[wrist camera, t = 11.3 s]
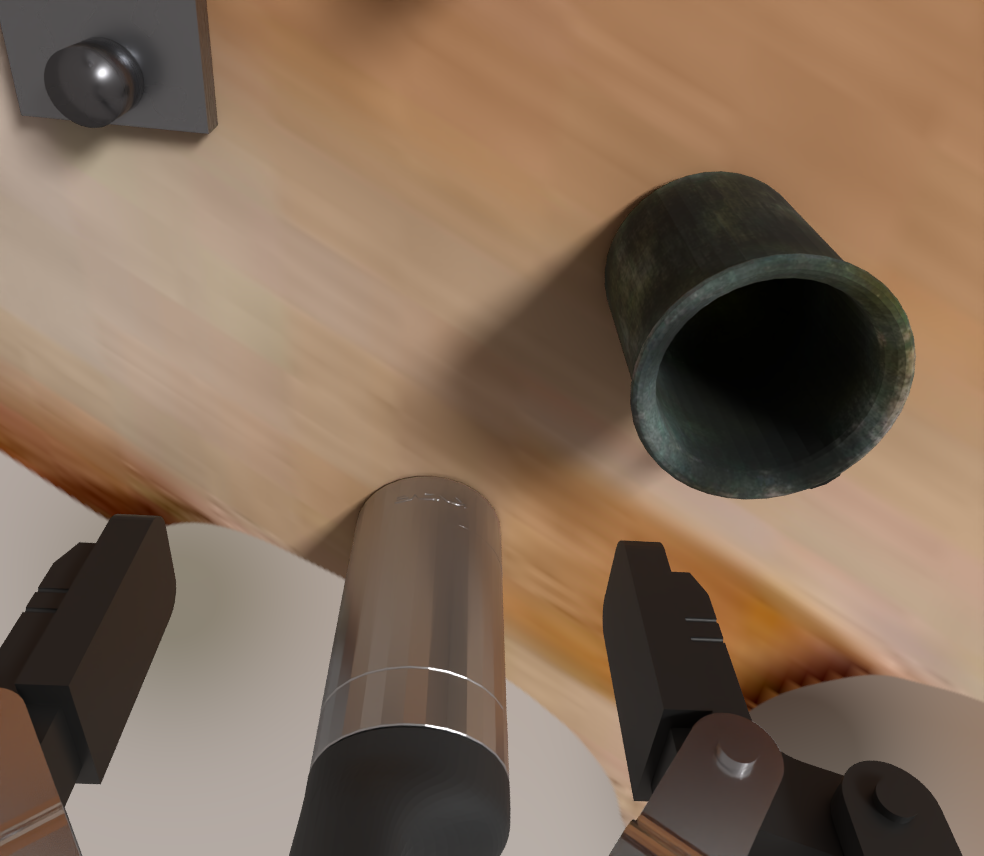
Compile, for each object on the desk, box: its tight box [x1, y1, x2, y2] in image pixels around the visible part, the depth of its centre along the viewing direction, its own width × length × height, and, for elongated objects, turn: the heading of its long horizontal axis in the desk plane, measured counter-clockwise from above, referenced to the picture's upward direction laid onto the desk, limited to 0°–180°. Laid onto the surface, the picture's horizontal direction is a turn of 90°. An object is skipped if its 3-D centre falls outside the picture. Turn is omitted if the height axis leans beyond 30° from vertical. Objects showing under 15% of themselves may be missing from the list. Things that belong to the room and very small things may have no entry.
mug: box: [605, 171, 916, 499], centre depth 36 cm, size 11×15×12 cm
